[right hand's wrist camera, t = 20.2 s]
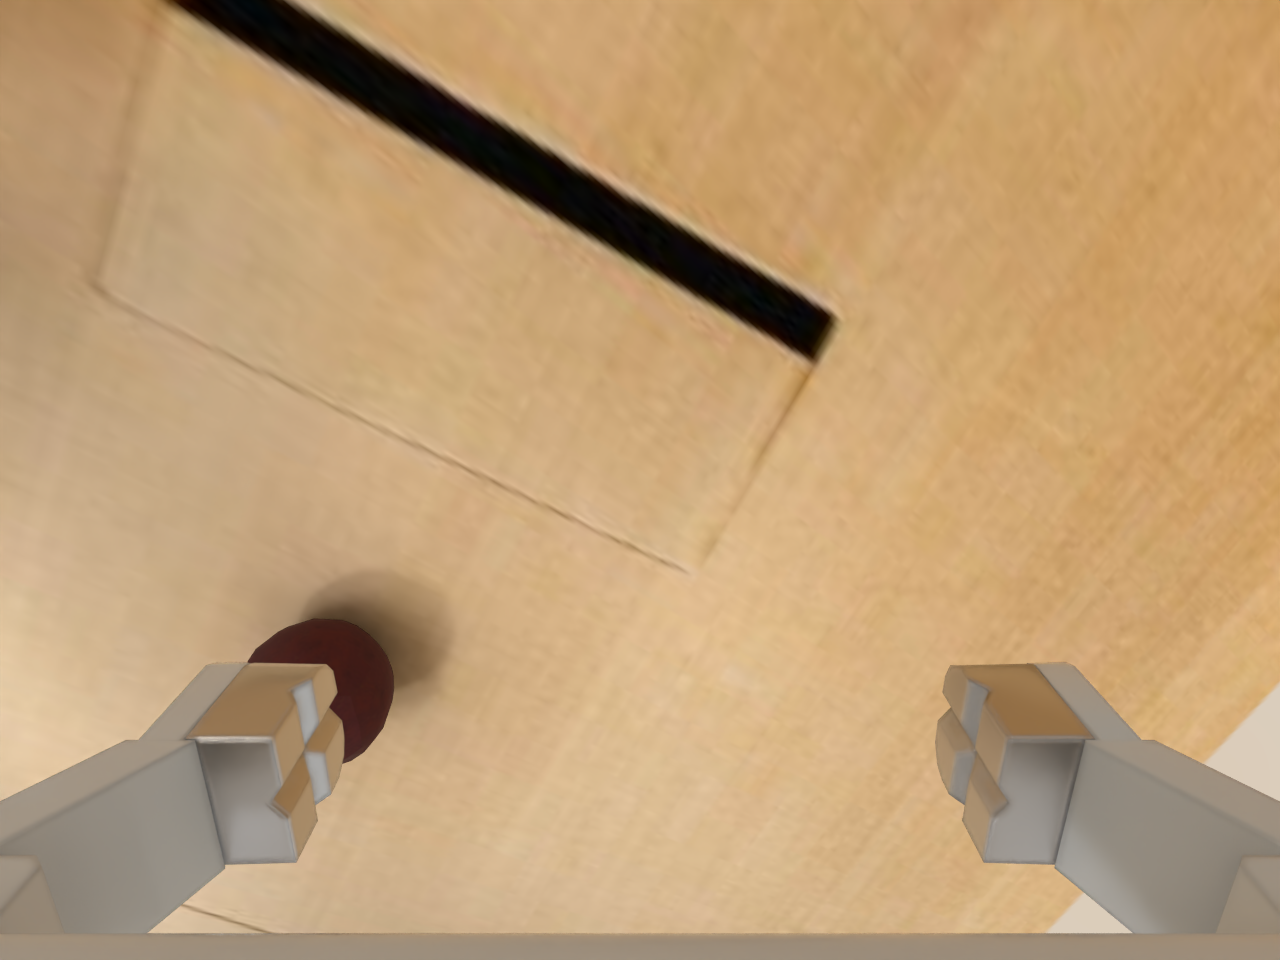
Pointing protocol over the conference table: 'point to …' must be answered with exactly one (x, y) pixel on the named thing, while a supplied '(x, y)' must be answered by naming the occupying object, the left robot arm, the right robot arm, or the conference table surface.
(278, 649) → the dark maroon ball
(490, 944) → the right robot arm
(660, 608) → the conference table surface
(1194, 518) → the conference table surface
